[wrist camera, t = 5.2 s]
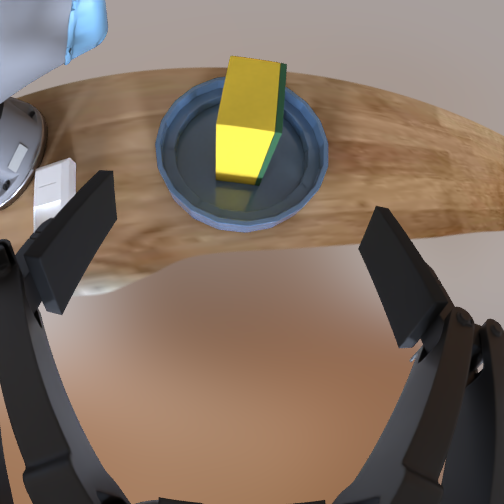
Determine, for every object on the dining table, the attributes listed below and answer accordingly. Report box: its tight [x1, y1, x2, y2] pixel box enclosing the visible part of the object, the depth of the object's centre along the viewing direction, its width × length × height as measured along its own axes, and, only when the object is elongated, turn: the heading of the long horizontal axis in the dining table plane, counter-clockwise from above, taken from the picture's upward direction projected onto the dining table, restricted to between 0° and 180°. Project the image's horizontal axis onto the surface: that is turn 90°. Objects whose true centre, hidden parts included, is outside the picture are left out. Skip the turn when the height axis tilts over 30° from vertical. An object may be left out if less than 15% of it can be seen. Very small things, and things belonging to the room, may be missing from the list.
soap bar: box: [34, 158, 76, 233], centre depth 26 cm, size 5×9×3 cm, turn 10°
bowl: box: [155, 77, 328, 232], centre depth 28 cm, size 17×17×4 cm
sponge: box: [216, 56, 287, 186], centre depth 24 cm, size 4×7×11 cm, turn 174°
